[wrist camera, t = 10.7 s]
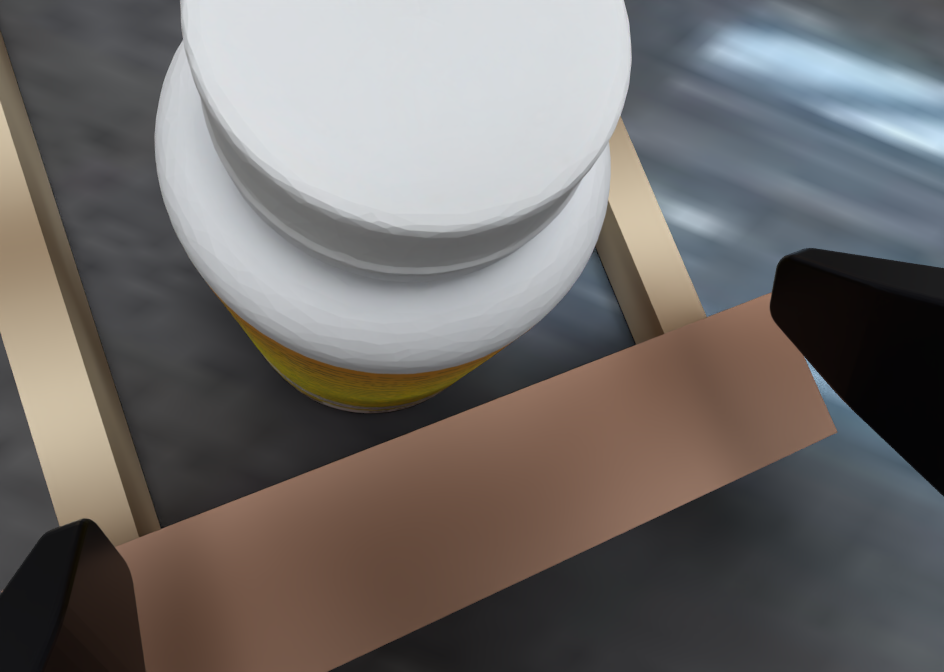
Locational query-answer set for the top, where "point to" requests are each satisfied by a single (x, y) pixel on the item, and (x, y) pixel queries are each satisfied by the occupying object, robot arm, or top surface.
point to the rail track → (400, 452)
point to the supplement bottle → (390, 177)
